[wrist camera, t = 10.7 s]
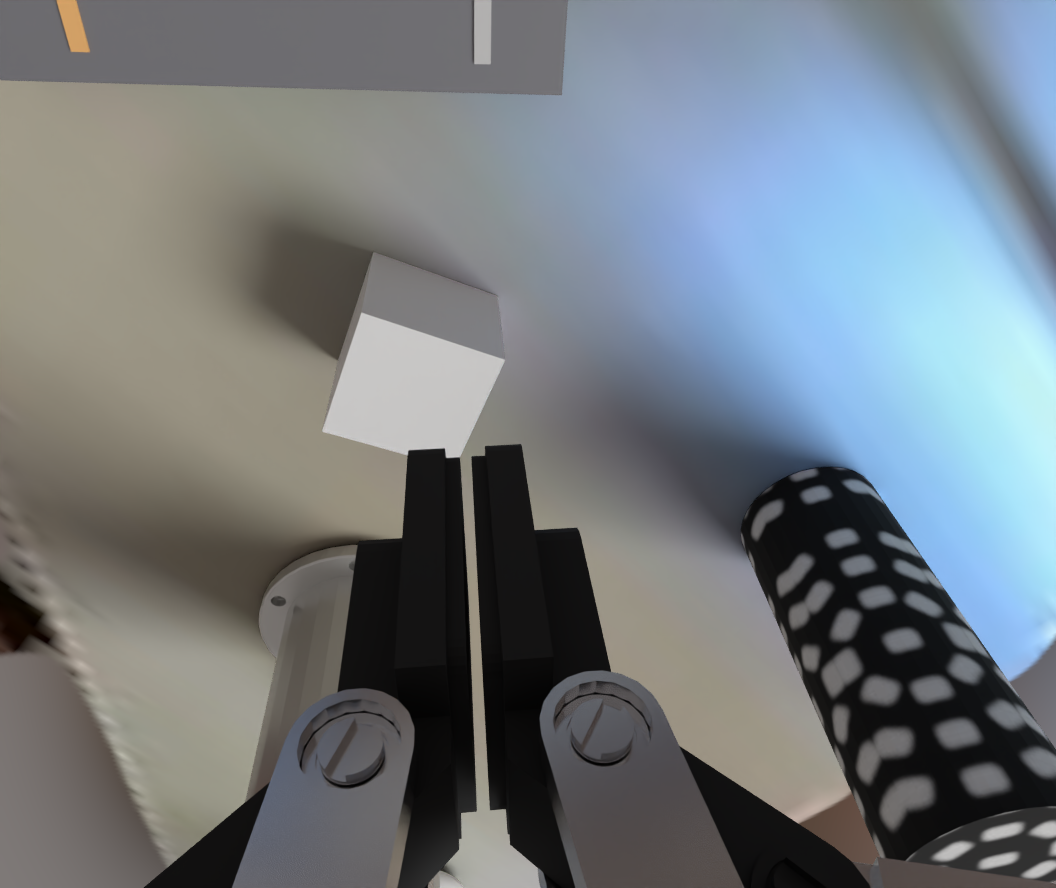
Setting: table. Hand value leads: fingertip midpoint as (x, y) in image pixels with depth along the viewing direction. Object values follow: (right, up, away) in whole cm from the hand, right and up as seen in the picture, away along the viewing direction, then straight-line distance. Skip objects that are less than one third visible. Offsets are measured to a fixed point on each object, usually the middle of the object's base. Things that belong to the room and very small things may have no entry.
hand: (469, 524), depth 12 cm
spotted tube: (+18, -3, +35) cm, 39 cm away
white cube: (-4, +7, +25) cm, 26 cm away
